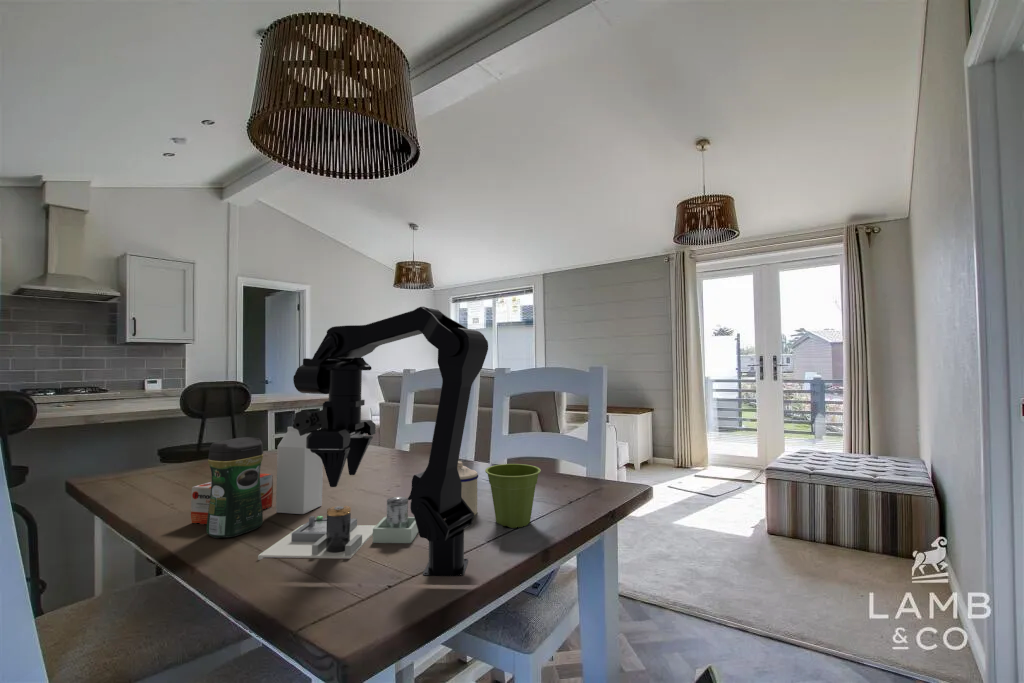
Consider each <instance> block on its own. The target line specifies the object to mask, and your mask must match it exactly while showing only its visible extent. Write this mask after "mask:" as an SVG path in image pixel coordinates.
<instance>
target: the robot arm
mask: <svg viewBox="0 0 1024 683" xmlns="http://www.w3.org/2000/svg"><path fill="white" fill-rule="evenodd" d="M417 335H423V336H424V338H425V339H426V341H427V342H428V343H429V344H431V346H434V347H435V348H436V349H437V366H438V368H439V373H440V375H441V379H442V382H441V389H440V395H439V400H438V405H437V406H438V407H437V413H436V417H435V423H434V429H433V434H432V441H431V446H430V452H429V458H428V464H427V467H426V469H424V471H422V472H420V473H416V474H414V475H413V476H412V480H411V490H410V494H409V496H408V497H407V498H408V501H410V506H409V507H410V512H411V514H413V517H415V521H416V525H417V528H418V535H419V537H420V538H422V539H426V540H427V541H428V562H427V565H425V566H426V567H425V568H424V570H423V572H422V576H424V577H426V576H427V577H464V575H465V572H466V569H467V566H468V563H469V559H468V558H465V529H466V528H468V527H470V526H472V524H473V521H474V518H475V515H474V513H473V512H472V510H471V509H470V508H469V506H468V505H467V504H466V503H465V501H464V500H463V499H462V497H461V490H462V483H461V480H460V476H459V473H458V469H457V466H458V461H459V458H460V454H461V447H462V441H463V436H464V430H465V424H466V420H467V419H466V418H467V415H468V414H467V413H468V408H469V402H470V398H471V390H472V386H473V384H474V382H475V380H476V378H477V377H478V375H479V374H480V372H481V371H482V368H483V366H484V362H485V360H486V357H487V354H488V351H489V342H488V340H487V339H486V337H485V335H484V334H483V333H482V332H480V331H479V330H475V329H471V328H467V326H465V325H463V324H461V323H459V322H458V321H455V320H454V319H452V318H450V317H448V316H447V315H446V314H444V313H443V312H442V311H441V310H439V309H437V308H435V307H434V308H433V307H428V306H420V307H417V308H415V309H413V310H410V311H408V312H403V313H400V314H397V315H393V316H390V317H387V318H384V319H380V320H377V321H374V322H373V321H372V322H370V323H368V324H360V325H357V324H356V325H352V324H351V325H350V324H349V325H337V326H331V327H330V328H328V329H327V330H326V334H325V336H324V338H323V339H322V342H321V343H320V344H319V347H318V348H317V350H316V352H315V353H314V355H313V357H312V358H309V357H308V358H306V357H305V358H303V359H302V364H301V365H300V366H299V367H297V369H296V370H295V372H294V375H293V377H292V378H293V379H292V380H293V385H294V387H295V389H296V390H297V391H298V392H299V393H300V394H312V395H313V394H314V395H328V400H324V402H323V403H322V409H320V410H318V411H316V412H312V413H311V412H310V411H309V410H308V409H303V410H300V411H297V412H295V414H294V419H293V421H292V422H293V424H292V427H293V428H294V429H297V430H298V431H299V434H300V436H302V435H304V434H308V433H310V434H309V435H308V436H307V437H306V448H307V449H310V451H311V452H312V453H315V454H317V455H318V456H319V457H320V458H321V459H322V462H323V467H324V468H323V469H324V471H325V473H326V477H327V481H328V484H329V485H328V486H330V488H337V487H338V485H339V482H340V479H341V476H342V473H343V470H344V467H345V464H346V462H347V469H348V474H349V475H350V476H355V475H356V473H357V471H358V469H359V467H360V464H361V462H362V460H363V458H364V456H365V454H366V452H367V450H368V447H369V446H370V443H371V442H372V439H373V438H374V437H373V436H374V435H375V434H376V423H374V422H373V420H372V419H362V407H363V406H365V402H366V401H365V399H362V381H363V380H362V378H363V377H362V376H363V371H372V365H370V364H369V363H368V362H367V361H366V360H365V359H364V357H365V356H367V355H369V354H371V353H373V352H374V351H375V349H377V348H378V347H380V346H382V345H385V344H390V343H393V342H397V341H400V340H404V339H407V338H410V337H415V336H417Z"/></svg>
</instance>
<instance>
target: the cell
mask: <svg viewBox="0 0 1024 683" xmlns="http://www.w3.org/2000/svg"><path fill="white" fill-rule="evenodd" d="M351 509H352V507H351V506H349V505H335V506H330V507H328V508H327V509H326V518H327V533H326V551H327V552H331V553H338V552H343V551H345V545H346V544H347V543H349V542H350V522H351V516H352V514H351V513H352V512H351Z"/></svg>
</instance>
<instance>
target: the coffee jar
mask: <svg viewBox="0 0 1024 683" xmlns="http://www.w3.org/2000/svg"><path fill="white" fill-rule="evenodd" d="M208 450H209V451H208V460H207V463H208V466H209V468H210V472H211V481H210V482H211V494H210V503H209V510H208V517H207V525H206V534H207V535H209V536H210V537H212V538H215V539H220V538H233V537H237V536H240V535H243V534H246V533H249V532H251V531H254V530H257V529H258V528H260V527H262V524H263V523H264V520H263V519H264V518H263V515H264V514H263V510H262V501H261V489H260V473H261V466H262V461H263V458H264V449H263V442H262V440H261V438H259V437H249V436H247V437H244V436H243V437H236V438H231V439H225V440H220V441H215V442H212V443H211V445H210V446H209V449H208Z"/></svg>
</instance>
